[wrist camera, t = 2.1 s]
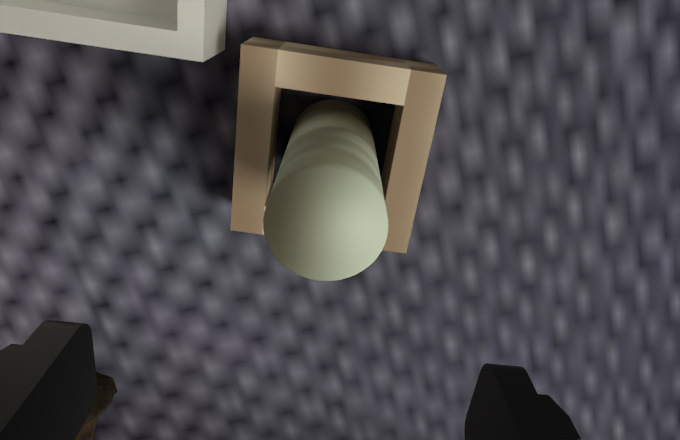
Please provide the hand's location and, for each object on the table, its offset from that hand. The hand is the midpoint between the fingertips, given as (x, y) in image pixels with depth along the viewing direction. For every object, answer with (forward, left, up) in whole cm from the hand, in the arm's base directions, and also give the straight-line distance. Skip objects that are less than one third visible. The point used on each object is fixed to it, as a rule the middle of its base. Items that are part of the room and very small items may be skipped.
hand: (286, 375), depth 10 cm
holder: (-1, 0, -16) cm, 16 cm away
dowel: (-1, 0, -16) cm, 16 cm away
